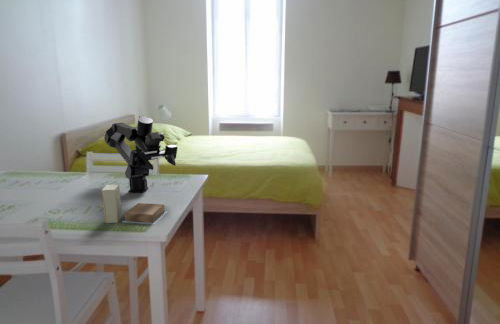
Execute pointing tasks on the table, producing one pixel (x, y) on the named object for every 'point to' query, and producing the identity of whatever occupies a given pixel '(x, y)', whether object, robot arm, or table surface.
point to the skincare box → (111, 203)
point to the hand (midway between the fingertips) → (164, 166)
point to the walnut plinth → (144, 213)
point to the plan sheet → (147, 223)
